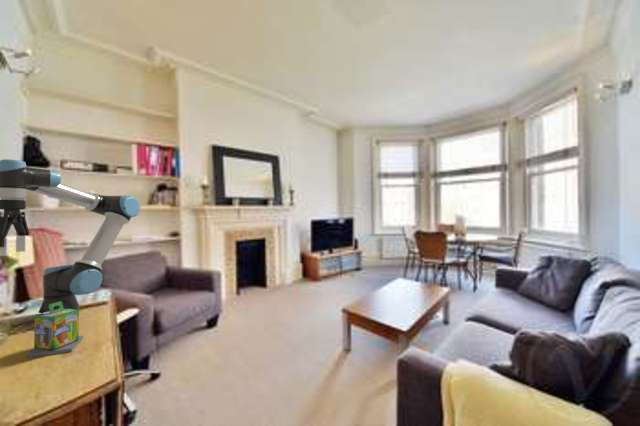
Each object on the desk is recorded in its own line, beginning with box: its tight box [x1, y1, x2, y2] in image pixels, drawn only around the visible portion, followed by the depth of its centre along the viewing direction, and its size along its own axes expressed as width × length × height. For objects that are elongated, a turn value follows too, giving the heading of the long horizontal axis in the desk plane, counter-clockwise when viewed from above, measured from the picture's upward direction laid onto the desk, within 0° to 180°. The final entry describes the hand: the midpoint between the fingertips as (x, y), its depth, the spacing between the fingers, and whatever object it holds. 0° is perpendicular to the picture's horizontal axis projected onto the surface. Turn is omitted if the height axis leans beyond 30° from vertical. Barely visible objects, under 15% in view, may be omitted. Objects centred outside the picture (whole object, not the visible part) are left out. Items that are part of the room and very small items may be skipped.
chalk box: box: [33, 301, 80, 350], centre depth 108 cm, size 9×9×15 cm
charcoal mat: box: [26, 335, 84, 359], centre depth 108 cm, size 12×12×1 cm
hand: (12, 253), depth 117 cm, fingers open, 13 cm apart
